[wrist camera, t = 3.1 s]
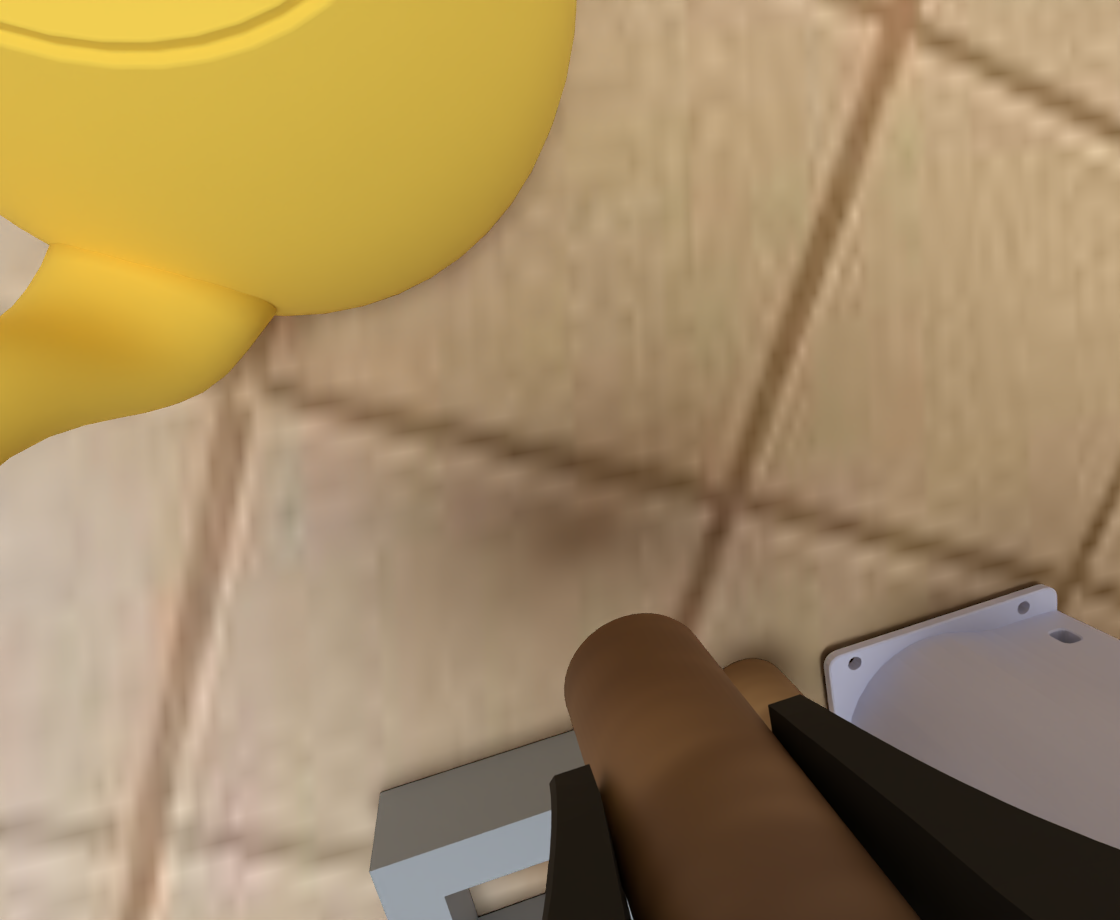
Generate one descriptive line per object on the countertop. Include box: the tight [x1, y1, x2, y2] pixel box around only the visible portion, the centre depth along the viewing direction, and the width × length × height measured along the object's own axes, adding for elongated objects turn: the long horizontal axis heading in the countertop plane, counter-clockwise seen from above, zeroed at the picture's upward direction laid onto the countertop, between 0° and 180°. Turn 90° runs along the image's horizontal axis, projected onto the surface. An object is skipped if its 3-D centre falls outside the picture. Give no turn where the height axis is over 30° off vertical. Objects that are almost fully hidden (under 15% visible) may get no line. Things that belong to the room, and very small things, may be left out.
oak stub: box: [723, 659, 805, 731], centre depth 19 cm, size 3×3×5 cm
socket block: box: [369, 730, 633, 920], centre depth 20 cm, size 10×8×3 cm
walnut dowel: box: [564, 613, 921, 920], centre depth 9 cm, size 3×3×8 cm
